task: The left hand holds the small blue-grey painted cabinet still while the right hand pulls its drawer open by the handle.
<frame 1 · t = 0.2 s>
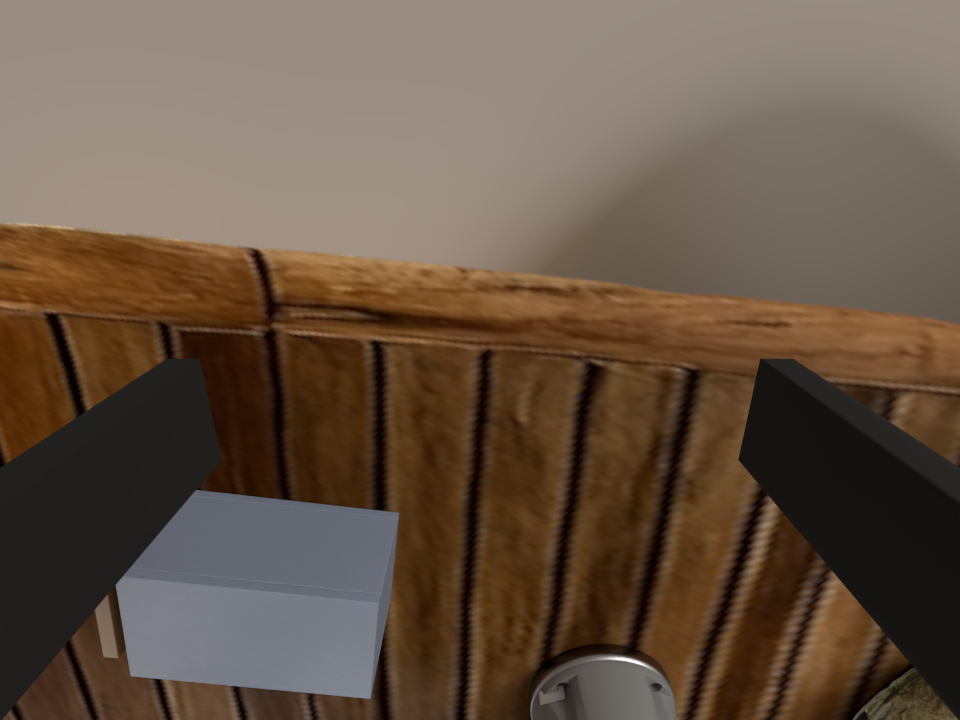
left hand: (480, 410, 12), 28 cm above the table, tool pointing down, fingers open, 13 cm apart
drawer: (205, 581, 44), point 5 cm above the table, slide at 1.4 cm
cabinet: (295, 545, 49), on the table
fossil: (900, 700, 57), on the table
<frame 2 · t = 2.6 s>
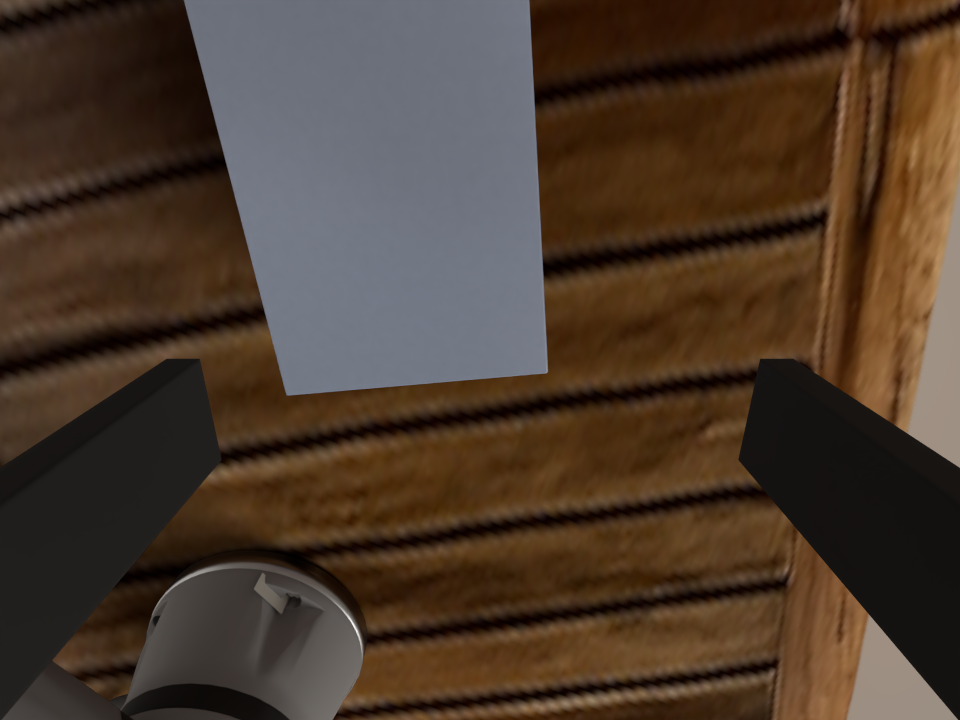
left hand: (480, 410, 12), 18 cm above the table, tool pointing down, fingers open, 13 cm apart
cabinet: (413, 131, 26), on the table
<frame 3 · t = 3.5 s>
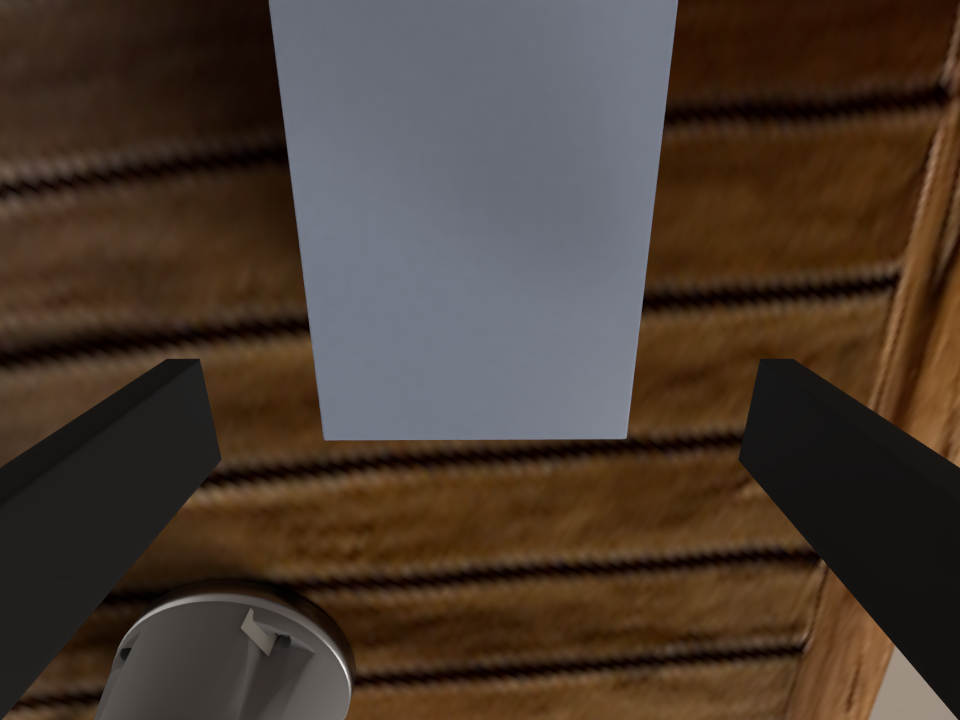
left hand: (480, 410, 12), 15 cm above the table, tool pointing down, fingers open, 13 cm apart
cabinet: (474, 146, 24), on the table
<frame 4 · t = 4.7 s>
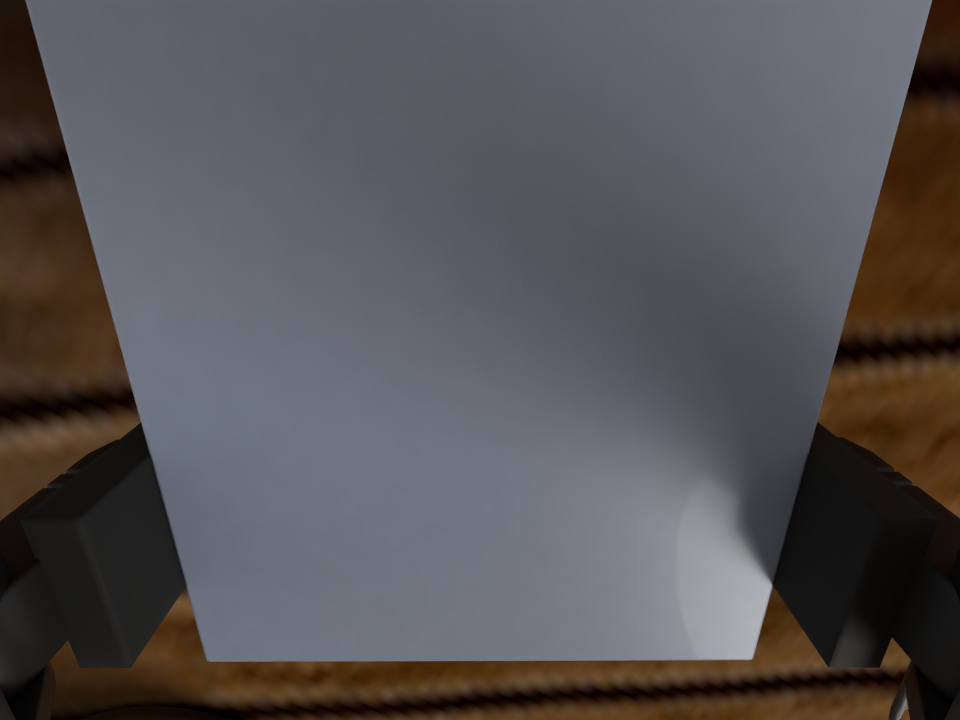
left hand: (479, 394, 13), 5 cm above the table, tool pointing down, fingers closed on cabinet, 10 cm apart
cabinet: (478, 135, 16), on the table, touching left hand
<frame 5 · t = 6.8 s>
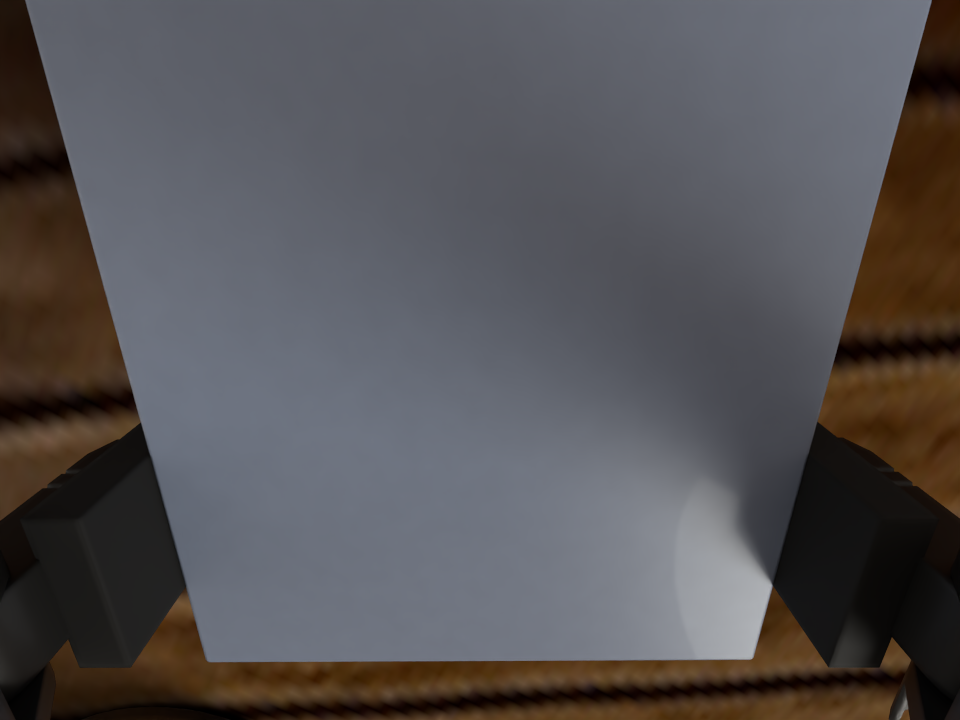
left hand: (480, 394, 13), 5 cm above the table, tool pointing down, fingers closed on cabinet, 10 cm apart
cabinet: (478, 135, 16), on the table, touching left hand
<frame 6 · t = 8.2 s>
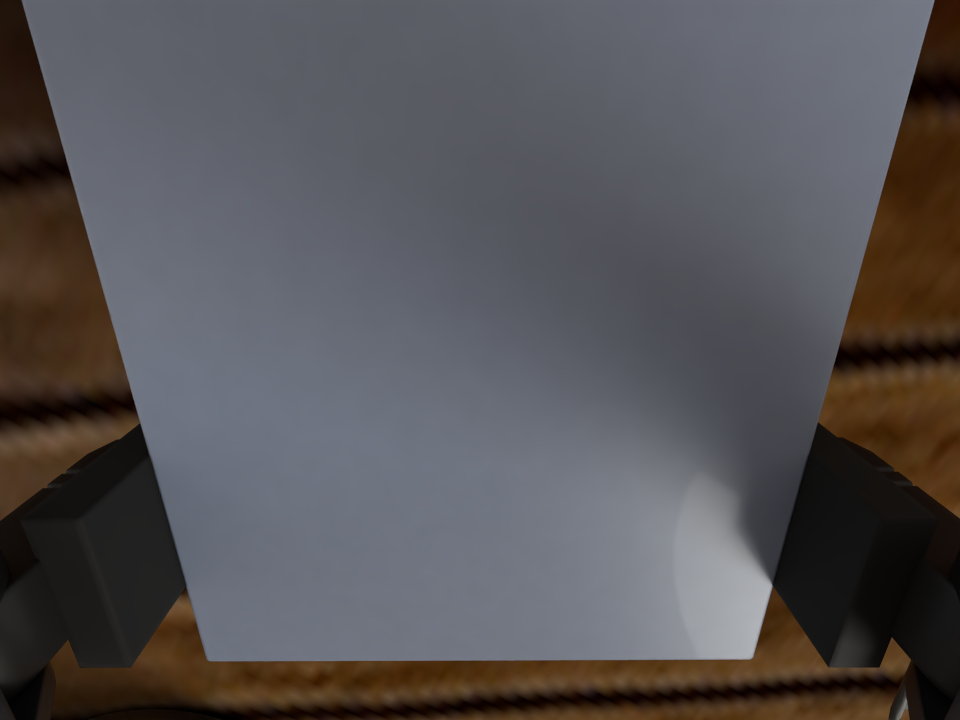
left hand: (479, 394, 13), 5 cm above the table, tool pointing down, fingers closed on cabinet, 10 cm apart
cabinet: (478, 133, 16), on the table, touching left hand
when the left hand's fingers open (5 cm above the table, at t = 9.5 s): cabinet stays where it is, on the table.
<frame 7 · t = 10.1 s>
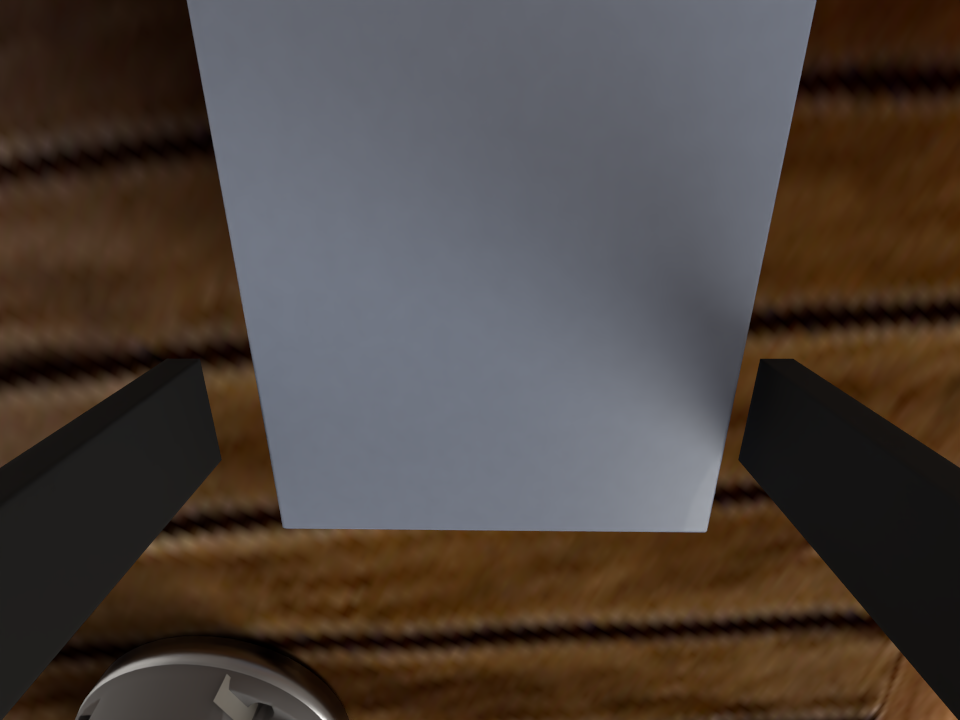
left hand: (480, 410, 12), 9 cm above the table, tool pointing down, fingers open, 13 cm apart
cabinet: (493, 123, 19), on the table
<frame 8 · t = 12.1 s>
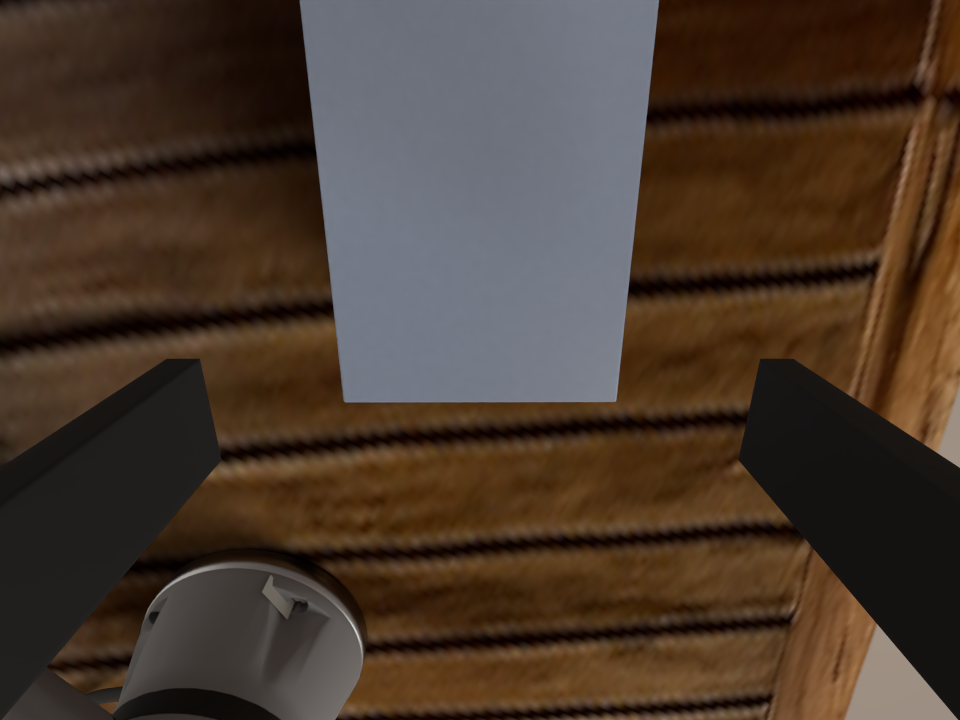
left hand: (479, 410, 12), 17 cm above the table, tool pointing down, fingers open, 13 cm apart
cabinet: (479, 138, 26), on the table
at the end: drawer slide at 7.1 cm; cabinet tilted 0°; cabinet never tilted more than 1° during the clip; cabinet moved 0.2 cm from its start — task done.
